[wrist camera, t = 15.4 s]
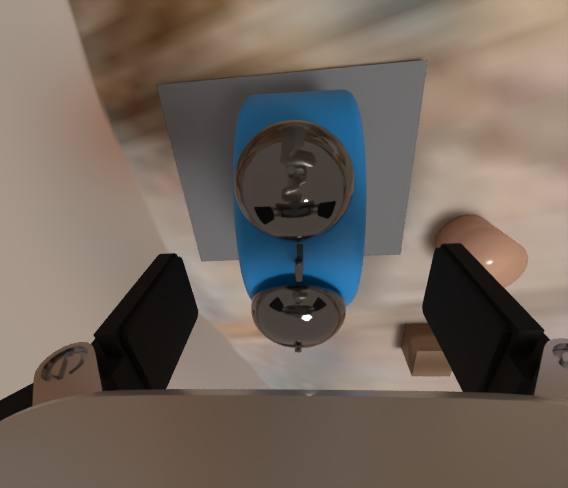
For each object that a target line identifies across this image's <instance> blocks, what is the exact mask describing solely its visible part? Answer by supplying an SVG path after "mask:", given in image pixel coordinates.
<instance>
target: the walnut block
mask: <svg viewBox="0 0 568 488" xmlns="http://www.w3.org/2000/svg"><path fill="white" fill-rule="evenodd" d="M401 348H402V351H403V354H404V356H405V359H406V362H407V364H408V367H409V370H410V372H411V375H412V376H450V374H451V371H452V369H451V367H450V365H449V363H448V361H447V359H446V357H445V355H444V353H443V352H442V350H441V348H440V346H439V344H438V342H437V340H436V338H435V336H434V334H433V332H432V330H431V328H430V326H429V324H405V329H404V335H403V341H402V347H401Z"/></svg>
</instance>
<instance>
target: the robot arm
mask: <svg viewBox="0 0 568 488" xmlns="http://www.w3.org/2000/svg"><path fill="white" fill-rule="evenodd" d="M422 309H423V314H424V316H425V318H426V320H427V322H428V324H429V326H430V328H431V330H432V332H433V334H434V336H435V338H436V340H437V342H438V344H439V346H440V348H441V350H442V352H443V353H444V355H445V357H446V359H447V361H448V363H449V365H450V367H451V369H452V371H453V373H454V375H455V377H456V379H457V381H458V383H459V385H460V387H461V389H462V391H463V392H446V391H377V390H263V389H261V390H260V389H248V390H247V389H166V388H167V386H168V383H169V381H170V379H171V377H172V374H173V372H174V370H175V367H176V365H177V363H178V361H179V358H180V356H181V354H182V352H183V349H184V347H185V345H186V343H187V340H188V338H189V335H190V333H191V331H192V329H193V327H194V324H195V322H196V320H197V317H198V308H197V305H196V302H195V298H194V295H193V292H192V289H191V286H190V282H189V279H188V276H187V273H186V269H185V266H184V263H183V260H182V258H181V257H178V256H177V254H175V253H171V254H159V255H158V256H157V257H156V259H155V260H154V261H153V262H152V264H151V265H150V266H149V267H148V269H147V270H146V271H145V272H144V273H143V275H142V276H141V277H140V278H139V279H138V281H137V282H136V283H135V284H134V286H133V287H132V288H131V289H130V291H129V292H128V293H127V294H126V295H125V297H124V298H123V299H122V300H121V302H120V303H119V304H118V306H117V307H116V308H115V309H114V310H113V311H112V313H111V314H110V315H109V316H108V318H107V319H106V320H105V321H104V323H103V324H102V325H101V326H100V327H99V329H98V330H97V331H96V332H95V333H94V337H95V340H94V341H93V342H92V343H91V344H89V343H87V342H79V343H73V344H70V345H68V346H65V347H63V348H61V349H59V350H57V351H55V352H54V353H53V354H51V355H50V356H49V357H47V358H46V359H45V360H44V361H43V362H42V363H41V364H40V366H39V367H38V368H37V370H36V372H35V375H34V383H32V384H30V385H28V386H27V387H25V388H23V389H21V390H19V391H17V392H15V393H13V394H11V395H9V396H8V397H6V398H4V399H2V400H0V488H568V339H563V338H560V339H552V340H550V339H549V338H548V337H547V336H546V335H545V334H544V333H543V332H544V329H543V328H542V327H541V326H540V325H539V324H538V323H537V322H536V321H535V320H534V319H533V318H532V317H531V316H530V315H529V314H528V312H527V311H526V310H525V309H524V308H523V307H522V306H521V305H520V304H519V303H518V302H517V301H516V300H515V299H514V298H513V297H512V296H511V295H510V294H509V293H508V292H507V290H506V289H505V288H504V287H503V286H502V285H501V284H500V283H499V282H498V281H497V280H496V279H495V278H494V277H493V276H492V275H491V274H490V273H489V272H488V271H487V270H486V269H485V267H484V266H483V265H482V264H481V263H480V262H479V261H478V260H477V259H476V258H475V257H474V256H473V255H472V254H471V253H470V252H469V251H468V250H467V249H466V248H465V247H464V245H462V244H461V243H446V244H441V246H440V248H436V249H435V251H434V255H433V260H432V264H431V269H430V273H429V278H428V282H427V287H426V291H425V296H424V300H423V305H422Z"/></svg>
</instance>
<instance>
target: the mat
mask: <svg viewBox="0 0 568 488" xmlns="http://www.w3.org/2000/svg"><path fill="white" fill-rule="evenodd" d="M427 61H428V60H420V61H409V62H398V63H388V64H377V65H366V66H355V67H344V68H333V69H322V70H311V71H301V72H290V73H279V74H268V75H257V76H246V77H235V78H225V79H214V80H203V81H192V82H181V83H170V84H159V85H156V86H157V90H158V94H159V98H160V102H161V105H162V109H163V113H164V117H165V121H166V125H167V129H168V133H169V137H170V141H171V145H172V149H173V152H174V156H175V160H176V164H177V168H178V172H179V176H180V180H181V184H182V188H183V192H184V196H185V199H186V203H187V207H188V211H189V215H190V219H191V223H192V227H193V231H194V235H195V239H196V242H197V246H198V250H199V254H200V258H201V261H223V260H239V256H238V249H237V242H236V232H235V221H234V204H233V155H234V141H235V132H236V125H237V120H238V115H239V112H240V109H241V106H242V104H243V102H244V100H245V99H246V98H247V97H248V96H250V95H254V94H271V93H289V92H306V91H324V90H342V89H343V90H348V91H349V92H351V93H352V94H353V96H354V97H355V99H356V101H357V103H358V106H359V110H360V114H361V119H362V125H363V133H364V143H365V156H366V181H367V207H366V232H365V246H364V256H371V255H400V253H401V246H402V239H403V231H404V224H405V217H406V210H407V203H408V196H409V189H410V182H411V174H412V167H413V160H414V153H415V146H416V139H417V132H418V125H419V118H420V110H421V103H422V96H423V89H424V82H425V75H426V68H427Z"/></svg>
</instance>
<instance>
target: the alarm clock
mask: <svg viewBox="0 0 568 488" xmlns="http://www.w3.org/2000/svg"><path fill="white" fill-rule="evenodd" d="M233 204H234V221H235V232H236V242H237V249H238V256H239V262H240V268H241V273H242V277H243V281H244V284H245V287H246V290H247V293H248V295H249V297H250V298H251V300H252V304H251V312H252V317H253V320H254V323H255V325H256V327H257V328H258V330H259V331H260V332H261V333H262V334H263V335H264V336H265V337H266V338H268V339H269V340H271V341H273V342H274V343H277V344H279V345H282V346H285V347H290V348H295V352H301V348H309V347H313V346H316V345H319V344H322V343H324V342H326V341H327V340H329V339H331V338H332V337H333V336H334V335H335V334H336V333H337V332H338V331H339V329H340V328H341V326H342V324H343V322H344V319H345V313H346V306H347V305H348V304H350V303H351V302H352V300H353V299H354V297H355V295H356V293H357V290H358V286H359V282H360V277H361V272H362V265H363V256H364V246H365V232H366V207H367V181H366V156H365V143H364V133H363V125H362V119H361V114H360V110H359V106H358V103H357V101H356V99H355V97H354V96H353V94H352V93H351V92H349V91H348V90H343V89H342V90H324V91H306V92H289V93H271V94H254V95H250V96H248V97H247V98H246V99H245V100H244V102H243V104H242V106H241V109H240V112H239V115H238V120H237V125H236V132H235V141H234V155H233Z"/></svg>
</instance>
